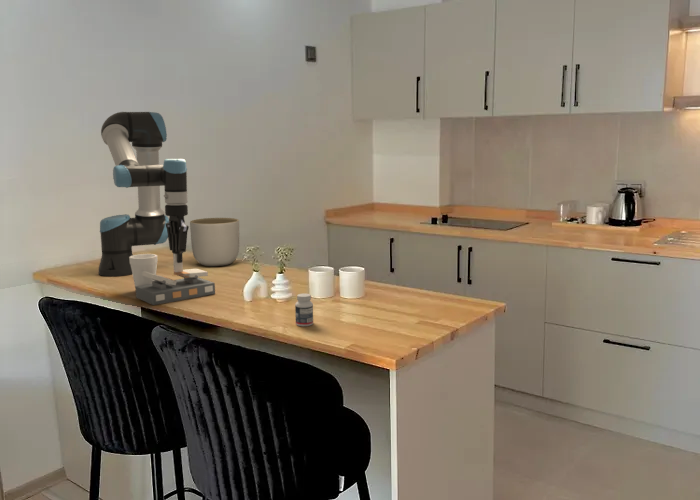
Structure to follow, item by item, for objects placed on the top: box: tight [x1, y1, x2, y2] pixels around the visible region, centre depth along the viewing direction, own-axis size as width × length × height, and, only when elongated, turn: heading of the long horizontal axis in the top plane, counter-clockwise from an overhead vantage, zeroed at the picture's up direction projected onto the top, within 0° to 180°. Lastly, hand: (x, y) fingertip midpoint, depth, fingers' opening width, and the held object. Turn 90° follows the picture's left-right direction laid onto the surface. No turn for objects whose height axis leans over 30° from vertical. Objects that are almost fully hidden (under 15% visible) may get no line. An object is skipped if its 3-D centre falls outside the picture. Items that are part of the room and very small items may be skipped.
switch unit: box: [134, 277, 216, 306], centre depth 228 cm, size 14×23×6 cm, turn 131°
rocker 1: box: [142, 271, 177, 285], centre depth 223 cm, size 8×9×2 cm
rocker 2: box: [173, 268, 208, 279], centre depth 231 cm, size 8×9×2 cm
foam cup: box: [129, 253, 159, 287], centre depth 233 cm, size 10×9×13 cm
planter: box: [189, 217, 240, 267], centre depth 282 cm, size 21×21×19 cm
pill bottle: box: [294, 293, 314, 327], centre depth 192 cm, size 5×5×9 cm
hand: (178, 271), depth 227 cm, fingers closed
